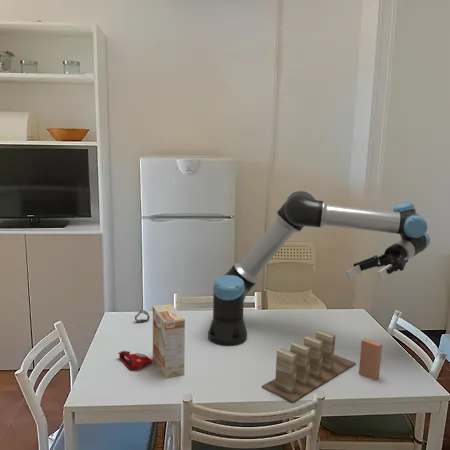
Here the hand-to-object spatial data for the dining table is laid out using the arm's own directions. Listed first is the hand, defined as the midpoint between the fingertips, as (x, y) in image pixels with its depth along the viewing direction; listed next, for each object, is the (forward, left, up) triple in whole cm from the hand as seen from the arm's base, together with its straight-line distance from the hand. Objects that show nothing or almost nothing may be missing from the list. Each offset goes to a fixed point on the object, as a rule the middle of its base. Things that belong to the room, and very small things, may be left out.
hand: (363, 275), depth 160 cm
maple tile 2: (-14, -15, -31) cm, 37 cm away
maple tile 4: (-21, -27, -31) cm, 46 cm away
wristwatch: (-86, +9, -32) cm, 92 cm away
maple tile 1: (-11, -9, -31) cm, 34 cm away
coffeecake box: (-61, -24, -32) cm, 73 cm away
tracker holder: (-73, -24, -32) cm, 83 cm away
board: (-14, -15, -32) cm, 38 cm away
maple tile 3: (-18, -21, -31) cm, 41 cm away
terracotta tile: (+4, -9, -32) cm, 33 cm away
